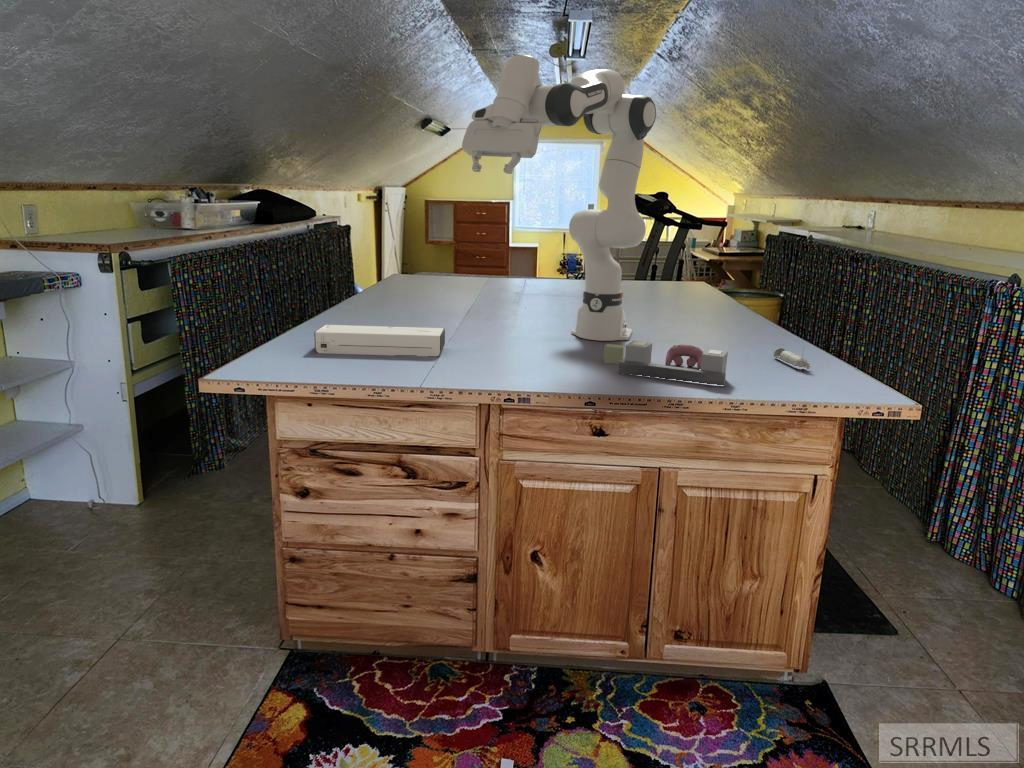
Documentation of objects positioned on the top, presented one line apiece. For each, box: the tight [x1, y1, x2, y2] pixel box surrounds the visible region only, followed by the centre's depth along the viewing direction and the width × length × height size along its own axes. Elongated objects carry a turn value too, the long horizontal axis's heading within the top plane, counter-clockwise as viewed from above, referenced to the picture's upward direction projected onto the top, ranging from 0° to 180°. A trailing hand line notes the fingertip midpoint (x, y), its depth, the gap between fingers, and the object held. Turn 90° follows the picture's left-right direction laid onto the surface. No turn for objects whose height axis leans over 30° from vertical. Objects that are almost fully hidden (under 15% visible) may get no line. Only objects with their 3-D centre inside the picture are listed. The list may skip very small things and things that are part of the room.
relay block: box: [603, 343, 626, 364], centre depth 198 cm, size 4×5×4 cm
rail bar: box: [618, 359, 727, 385], centre depth 180 cm, size 2×26×3 cm, turn 65°
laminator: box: [313, 324, 446, 357], centre depth 202 cm, size 34×12×6 cm, turn 90°
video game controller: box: [665, 344, 704, 370], centre depth 195 cm, size 10×5×7 cm, turn 71°
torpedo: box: [773, 347, 813, 370], centre depth 199 cm, size 18×5×6 cm, turn 7°
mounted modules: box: [624, 340, 729, 374], centre depth 184 cm, size 7×24×7 cm, turn 65°
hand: (491, 171), depth 177 cm, fingers open, 8 cm apart
